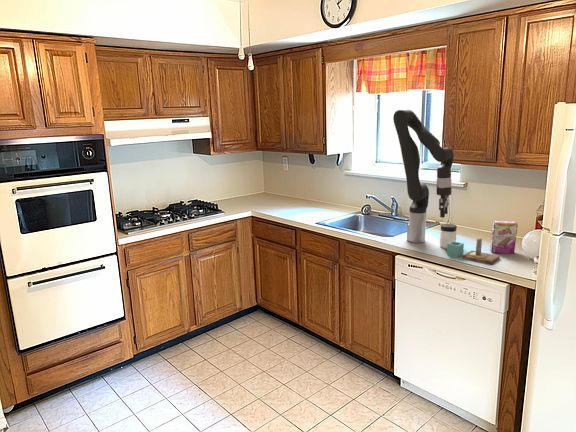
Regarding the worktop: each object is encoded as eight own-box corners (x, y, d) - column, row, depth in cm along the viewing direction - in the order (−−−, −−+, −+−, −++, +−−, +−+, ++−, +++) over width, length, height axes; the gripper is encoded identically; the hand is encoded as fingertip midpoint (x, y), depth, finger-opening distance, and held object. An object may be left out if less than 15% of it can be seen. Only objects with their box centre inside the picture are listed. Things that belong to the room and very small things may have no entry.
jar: (444, 249, 236) (446, 228, 233) (436, 245, 244) (437, 224, 241) (459, 247, 239) (460, 226, 236) (449, 243, 246) (451, 222, 243)
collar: (446, 254, 227) (447, 243, 226) (451, 252, 232) (452, 241, 230) (458, 257, 223) (458, 246, 222) (463, 254, 228) (463, 243, 226)
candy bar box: (491, 253, 228) (494, 222, 224) (489, 250, 233) (492, 220, 229) (514, 254, 226) (518, 223, 222) (512, 251, 230) (515, 221, 226)
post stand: (462, 258, 221) (464, 239, 219) (471, 253, 229) (472, 234, 227) (491, 264, 212) (493, 244, 210) (499, 258, 220) (501, 239, 217)
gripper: (439, 183, 241) (439, 212, 244) (433, 188, 228) (434, 218, 232) (453, 183, 237) (453, 213, 240) (449, 188, 225) (448, 218, 228)
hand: (443, 215), depth 236 cm, fingers open, 8 cm apart
